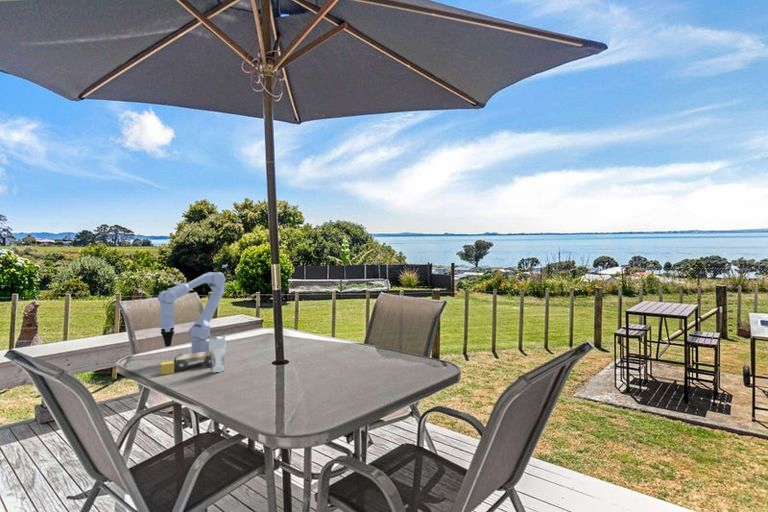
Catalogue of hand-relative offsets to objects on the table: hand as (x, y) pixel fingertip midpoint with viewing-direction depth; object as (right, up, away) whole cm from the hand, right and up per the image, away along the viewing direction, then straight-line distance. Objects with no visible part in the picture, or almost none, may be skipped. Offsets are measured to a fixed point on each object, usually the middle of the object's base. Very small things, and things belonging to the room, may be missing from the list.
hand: (167, 344), depth 186 cm
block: (+7, -10, -13) cm, 18 cm away
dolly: (+15, -9, -3) cm, 18 cm away
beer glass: (+29, -9, -12) cm, 33 cm away
